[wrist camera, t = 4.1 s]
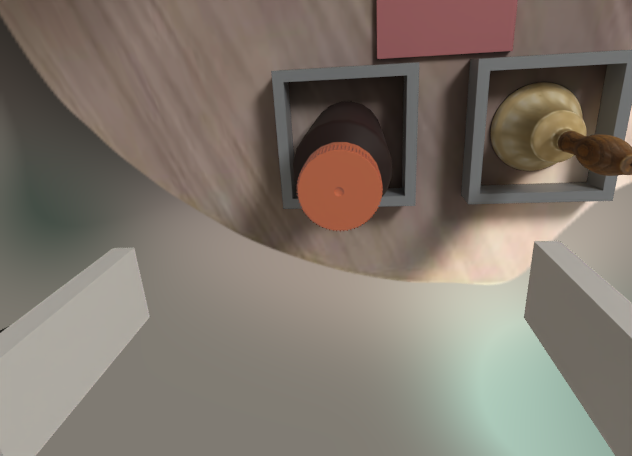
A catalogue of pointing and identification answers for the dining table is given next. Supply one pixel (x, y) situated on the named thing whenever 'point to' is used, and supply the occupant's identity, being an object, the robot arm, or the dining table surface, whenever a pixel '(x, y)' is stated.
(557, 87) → the hand bell
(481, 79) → the bell tray
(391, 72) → the tray
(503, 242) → the dining table surface
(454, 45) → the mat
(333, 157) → the vinegar
